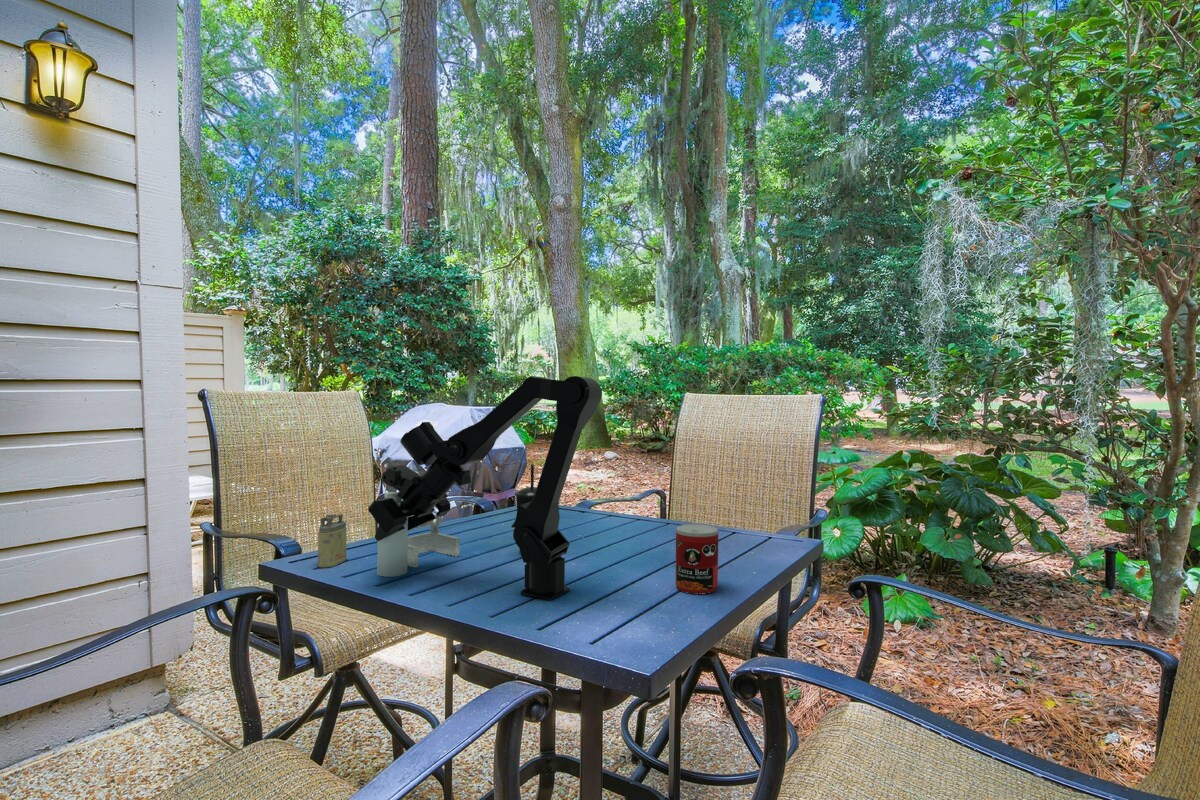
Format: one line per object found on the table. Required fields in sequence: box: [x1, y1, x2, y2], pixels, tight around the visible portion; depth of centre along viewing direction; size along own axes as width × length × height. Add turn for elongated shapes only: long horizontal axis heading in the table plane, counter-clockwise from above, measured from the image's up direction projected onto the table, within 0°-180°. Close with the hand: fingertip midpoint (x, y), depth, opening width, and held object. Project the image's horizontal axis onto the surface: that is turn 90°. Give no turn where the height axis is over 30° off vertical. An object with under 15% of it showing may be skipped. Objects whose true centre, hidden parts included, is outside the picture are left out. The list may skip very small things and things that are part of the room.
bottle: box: [376, 491, 409, 578], centre depth 115 cm, size 6×6×16 cm
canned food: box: [675, 523, 719, 595], centre depth 107 cm, size 8×8×11 cm
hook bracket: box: [407, 517, 461, 569], centre depth 126 cm, size 10×12×7 cm
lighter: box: [317, 513, 348, 568], centre depth 121 cm, size 7×4×10 cm, turn 171°
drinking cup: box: [514, 463, 537, 555], centre depth 130 cm, size 8×8×20 cm
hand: (387, 535), depth 115 cm, fingers closed on bottle, 6 cm apart
